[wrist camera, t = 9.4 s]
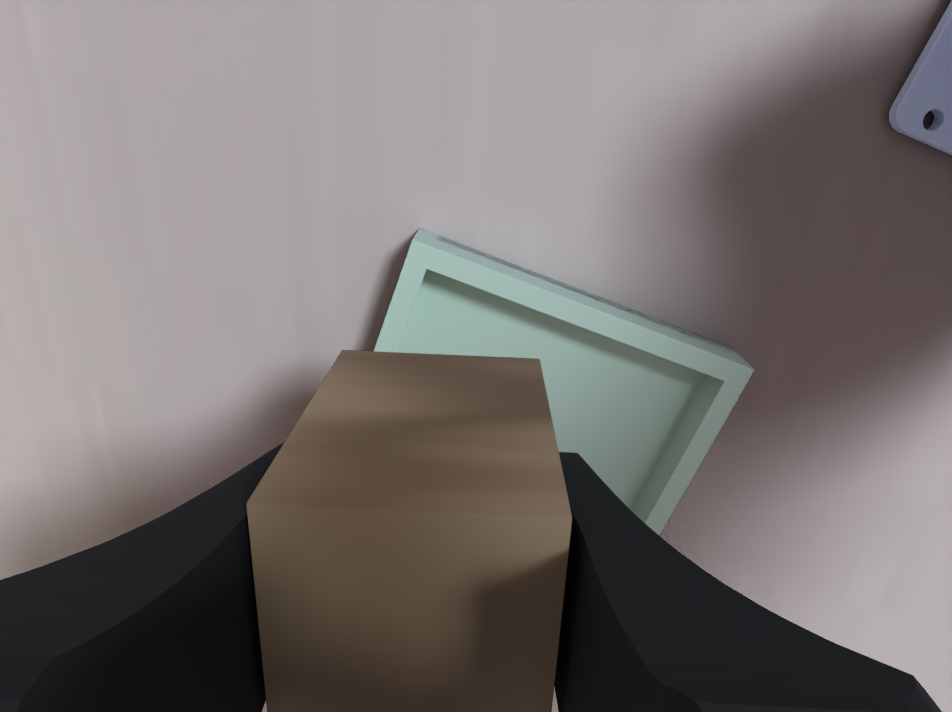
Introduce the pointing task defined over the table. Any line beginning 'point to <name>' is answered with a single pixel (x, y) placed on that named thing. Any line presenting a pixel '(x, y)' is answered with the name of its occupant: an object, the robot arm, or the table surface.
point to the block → (414, 540)
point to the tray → (577, 365)
